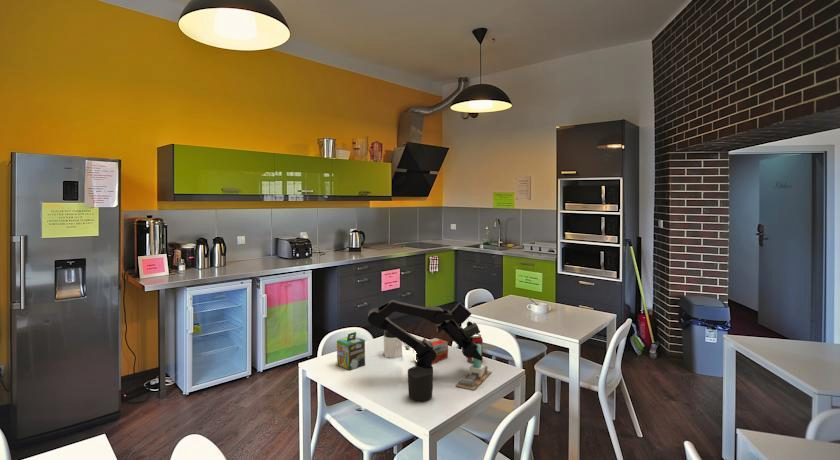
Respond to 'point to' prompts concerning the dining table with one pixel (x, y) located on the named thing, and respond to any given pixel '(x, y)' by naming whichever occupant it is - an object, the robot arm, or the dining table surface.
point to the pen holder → (420, 384)
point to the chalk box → (351, 352)
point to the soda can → (477, 340)
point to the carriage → (477, 364)
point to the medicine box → (439, 349)
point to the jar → (392, 345)
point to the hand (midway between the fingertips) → (480, 357)
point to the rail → (477, 383)
